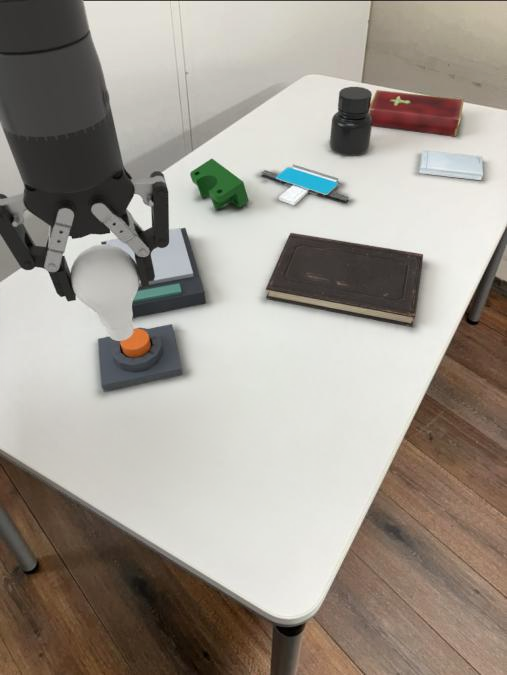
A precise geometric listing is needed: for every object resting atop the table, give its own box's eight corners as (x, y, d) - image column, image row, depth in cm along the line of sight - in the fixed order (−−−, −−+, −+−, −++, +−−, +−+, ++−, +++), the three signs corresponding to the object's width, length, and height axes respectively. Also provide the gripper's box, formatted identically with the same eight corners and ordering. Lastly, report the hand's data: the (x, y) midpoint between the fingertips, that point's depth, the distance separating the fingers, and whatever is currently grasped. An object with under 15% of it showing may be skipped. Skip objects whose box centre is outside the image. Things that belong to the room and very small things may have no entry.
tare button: (123, 360, 70) (121, 352, 69) (121, 340, 73) (118, 331, 72) (152, 354, 71) (150, 346, 70) (149, 334, 74) (147, 326, 72)
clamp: (206, 212, 107) (184, 173, 102) (229, 197, 108) (208, 158, 103) (229, 220, 97) (206, 177, 92) (253, 203, 98) (232, 159, 93)
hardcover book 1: (412, 327, 77) (415, 316, 75) (266, 298, 82) (265, 288, 80) (420, 262, 87) (423, 252, 86) (290, 241, 92) (290, 230, 91)
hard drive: (482, 155, 109) (423, 148, 112) (483, 174, 104) (420, 166, 106) (480, 162, 110) (421, 155, 113) (480, 181, 105) (419, 174, 108)
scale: (111, 321, 79) (106, 306, 77) (104, 253, 91) (99, 237, 89) (206, 303, 82) (204, 287, 79) (187, 238, 94) (184, 223, 91)
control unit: (103, 391, 70) (98, 378, 68) (100, 345, 76) (95, 331, 74) (182, 374, 72) (180, 360, 70) (173, 330, 78) (170, 316, 76)
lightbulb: (86, 328, 54) (55, 242, 46) (141, 309, 55) (121, 223, 47) (101, 368, 50) (70, 281, 42) (160, 346, 52) (142, 260, 44)
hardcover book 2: (455, 137, 118) (461, 119, 115) (365, 126, 123) (368, 108, 120) (459, 115, 126) (464, 98, 123) (374, 105, 131) (376, 88, 128)
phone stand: (245, 188, 105) (244, 181, 104) (276, 164, 112) (276, 157, 110) (331, 218, 97) (331, 210, 96) (359, 190, 104) (360, 182, 102)
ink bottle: (370, 139, 119) (378, 85, 110) (370, 157, 113) (379, 102, 104) (328, 137, 120) (332, 83, 111) (326, 155, 114) (331, 100, 105)
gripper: (151, 76, 39) (178, 252, 51) (-47, 98, 37) (30, 277, 49) (164, 117, 34) (191, 301, 46) (-64, 146, 32) (27, 331, 44)
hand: (108, 288), depth 48 cm, fingers closed on lightbulb, 6 cm apart
